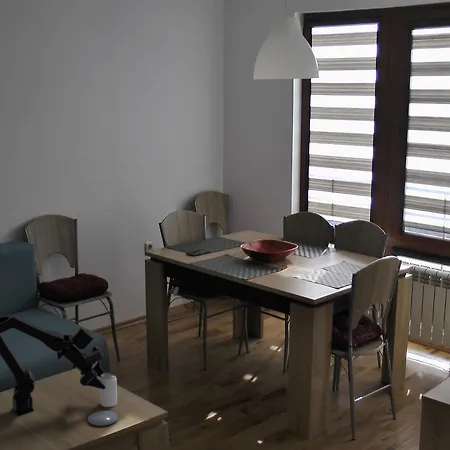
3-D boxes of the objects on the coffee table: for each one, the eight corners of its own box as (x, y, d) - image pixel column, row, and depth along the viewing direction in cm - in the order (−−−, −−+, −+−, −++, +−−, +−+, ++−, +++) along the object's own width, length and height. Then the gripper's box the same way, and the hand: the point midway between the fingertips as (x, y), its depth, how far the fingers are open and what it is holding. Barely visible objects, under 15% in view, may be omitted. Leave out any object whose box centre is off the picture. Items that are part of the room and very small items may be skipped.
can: (113, 408, 269) (113, 379, 267) (98, 406, 270) (97, 377, 268) (119, 401, 275) (118, 372, 273) (104, 399, 276) (103, 371, 274)
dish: (98, 429, 252) (98, 427, 252) (82, 419, 260) (82, 416, 260) (123, 420, 259) (123, 418, 259) (107, 410, 267) (107, 408, 267)
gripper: (87, 352, 258) (118, 379, 261) (93, 334, 277) (122, 360, 280) (67, 372, 259) (98, 399, 262) (74, 354, 278) (102, 379, 280)
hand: (105, 383), depth 271 cm, fingers open, 9 cm apart
